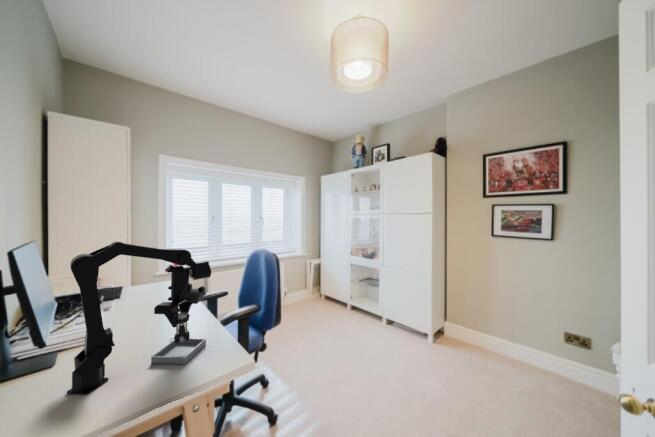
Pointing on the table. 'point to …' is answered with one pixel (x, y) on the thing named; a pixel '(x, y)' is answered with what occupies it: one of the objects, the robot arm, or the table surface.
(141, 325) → the table surface
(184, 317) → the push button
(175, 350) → the tray
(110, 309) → the table surface
